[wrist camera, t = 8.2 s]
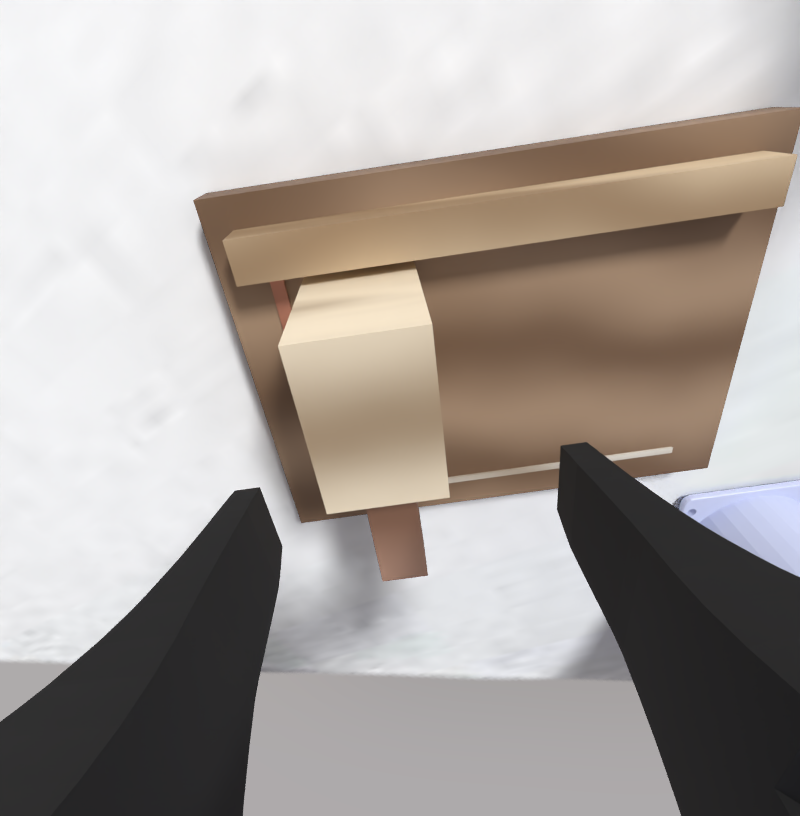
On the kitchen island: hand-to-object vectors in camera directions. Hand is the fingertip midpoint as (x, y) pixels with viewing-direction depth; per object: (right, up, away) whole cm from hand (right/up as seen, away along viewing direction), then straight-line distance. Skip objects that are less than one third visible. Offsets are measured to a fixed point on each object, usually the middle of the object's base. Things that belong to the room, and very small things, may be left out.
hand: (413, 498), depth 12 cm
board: (+4, +5, +9) cm, 11 cm away
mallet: (-1, +3, +9) cm, 9 cm away
